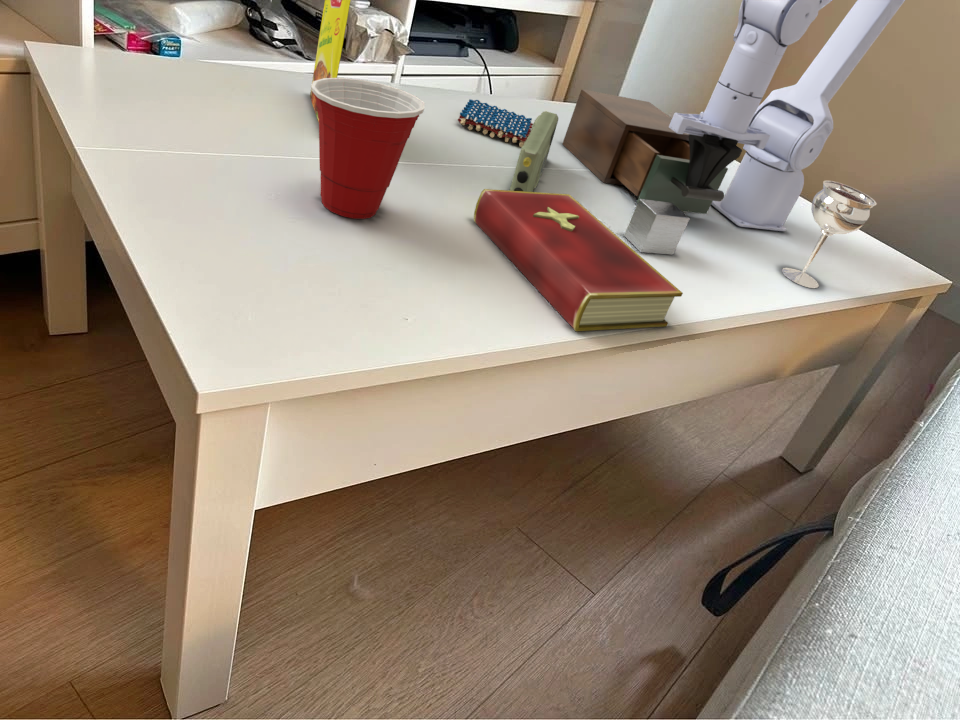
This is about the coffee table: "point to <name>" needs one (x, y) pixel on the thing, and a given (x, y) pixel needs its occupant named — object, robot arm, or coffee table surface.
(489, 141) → the coffee table surface
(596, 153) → the cabinet
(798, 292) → the coffee table surface
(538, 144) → the handheld radio
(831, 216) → the wineglass
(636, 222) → the metal cube
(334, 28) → the food package
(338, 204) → the plastic cup
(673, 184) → the drawer
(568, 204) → the hardcover book
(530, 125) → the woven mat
